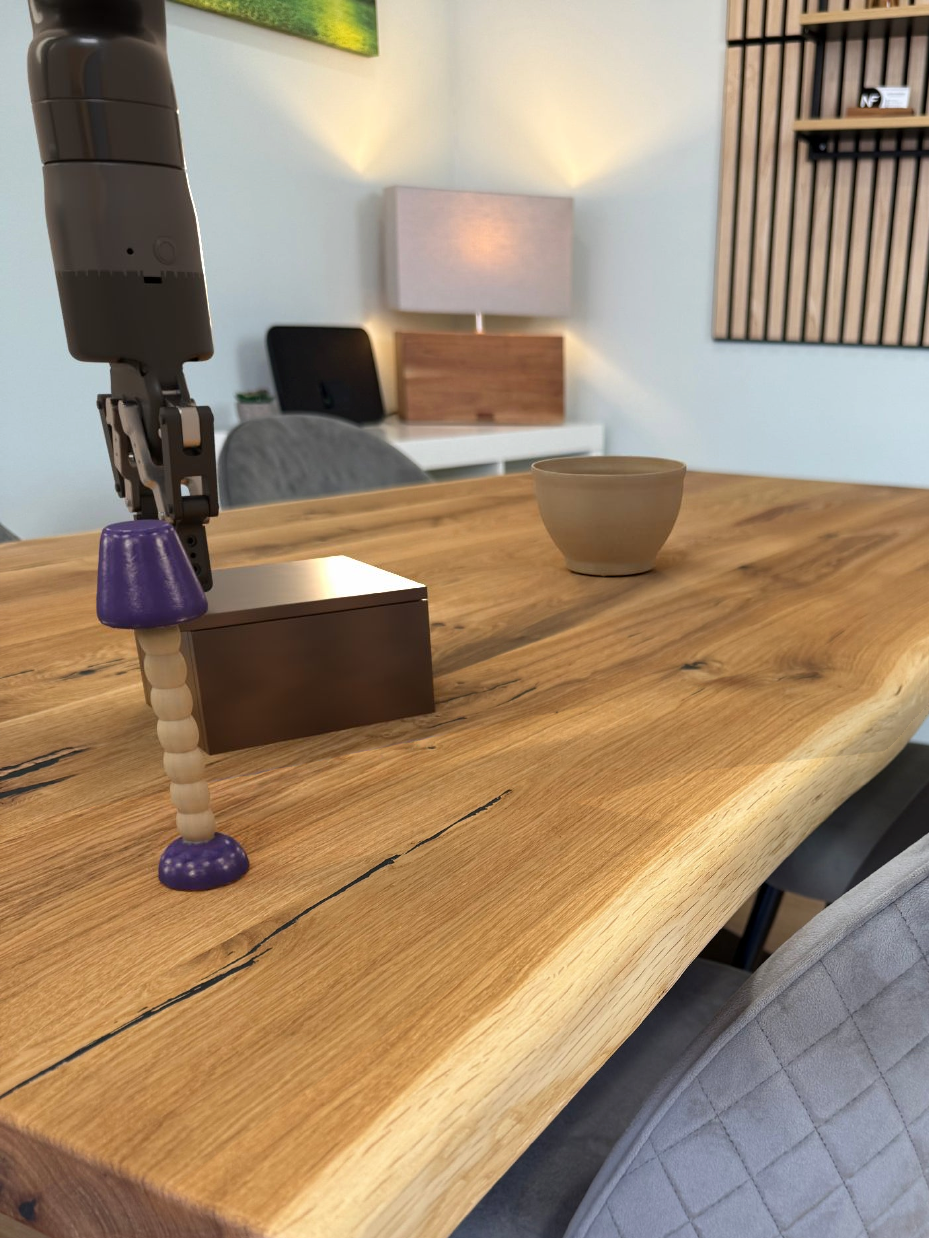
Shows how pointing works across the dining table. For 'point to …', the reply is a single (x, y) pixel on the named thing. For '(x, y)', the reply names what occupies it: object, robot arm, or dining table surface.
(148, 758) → the dining table surface
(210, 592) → the lid
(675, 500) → the planter bowl
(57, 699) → the dining table surface
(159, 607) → the toy lamp
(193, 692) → the chest
